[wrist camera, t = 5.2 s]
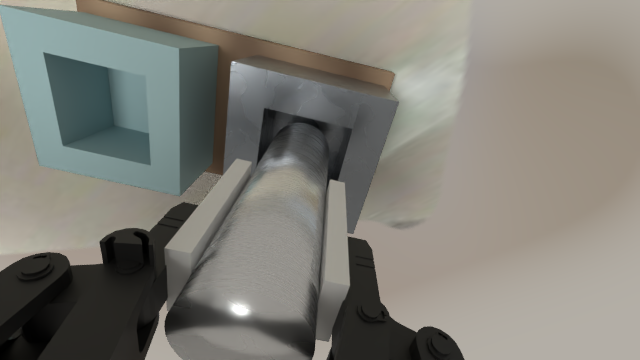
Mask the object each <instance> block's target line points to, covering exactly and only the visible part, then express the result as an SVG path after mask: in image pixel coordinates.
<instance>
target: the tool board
mask: <svg viewBox="0 0 640 360" xmlns="http://www.w3.org/2000/svg"><path fill="white" fill-rule="evenodd" d="M76 4H77V11H78V12H85V13H89V14H93V15H97V16H101V17H105V18H110V19H114V20H118V21H122V22H126V23H130V24H134V25H138V26H142V27H146V28H150V29H154V30H159V31H163V32H167V33H171V34H175V35H179V36H183V37H187V38H191V39H195V40H199V41H203V42H208V43H212V44H216V45H219V47H218V66H217V85H216V105H215V124H214V143H213V162H212V164H211V165H210V166H209V167H208V168H207V169H206V170H205V171H206V172H211V173H215V174H220V175H223V168H224V154H225V140H226V126H227V113H228V99H229V85H230V71H231V61H234V60H238V59H242V58H247V57H251V56H255V55H261V56H265V57H269V58H273V59H277V60H281V61H285V62H289V63H293V64H297V65H302V66H306V67H310V68H314V69H318V70H322V71H326V72H330V73H334V74H338V75H342V76H346V77H351V78H355V79H359V80H363V81H367V82H371V83H375V84H379V85H383V86H385V87H386V88H387V89H388V90H389V91H390V88H391V85H392V82H393V79H394V76H395V74H394V73H393V72H391V71H387V70H383V69H378V68H374V67H370V66H366V65H362V64H358V63H354V62H350V61H346V60H342V59H338V58H334V57H330V56H326V55H322V54H318V53H314V52H310V51H306V50H302V49H298V48H294V47H290V46H286V45H282V44H277V43H273V42H269V41H265V40H261V39H257V38H253V37H249V36H245V35H241V34H237V33H233V32H229V31H225V30H221V29H217V28H213V27H209V26H205V25H201V24H197V23H193V22H189V21H185V20H181V19H177V18H172V17H168V16H164V15H160V14H156V13H152V12H148V11H144V10H140V9H136V8H132V7H128V6H124V5H120V4H116V3H112V2H108V1H104V0H76Z"/></svg>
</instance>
